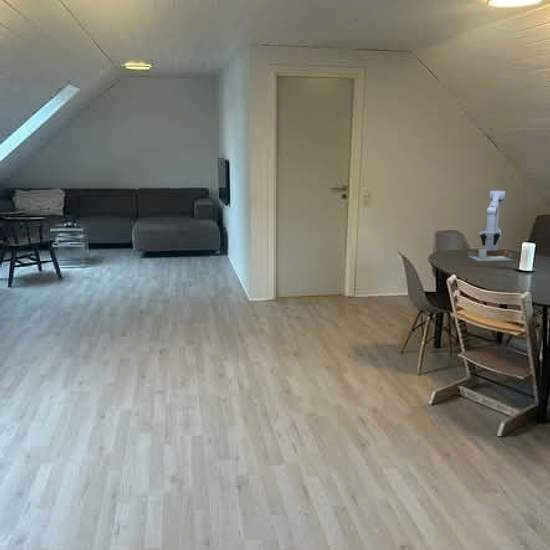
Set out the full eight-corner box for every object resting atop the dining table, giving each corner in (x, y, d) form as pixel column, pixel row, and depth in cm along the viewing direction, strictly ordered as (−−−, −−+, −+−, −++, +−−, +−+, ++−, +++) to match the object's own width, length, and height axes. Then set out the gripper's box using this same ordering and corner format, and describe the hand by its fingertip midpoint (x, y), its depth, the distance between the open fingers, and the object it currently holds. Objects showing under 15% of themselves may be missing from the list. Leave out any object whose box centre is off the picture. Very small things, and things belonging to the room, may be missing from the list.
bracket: (477, 257, 380) (478, 248, 378) (484, 257, 380) (485, 248, 379) (484, 260, 370) (485, 251, 369) (491, 260, 371) (492, 251, 369)
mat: (467, 256, 385) (467, 255, 385) (503, 255, 388) (503, 255, 388) (477, 261, 370) (477, 260, 370) (515, 260, 372) (515, 259, 372)
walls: (467, 256, 385) (467, 250, 384) (503, 255, 388) (503, 250, 387) (477, 261, 370) (478, 255, 369) (515, 260, 372) (516, 254, 372)
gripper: (483, 226, 367) (481, 246, 370) (504, 225, 369) (502, 246, 372) (478, 224, 374) (476, 244, 377) (499, 224, 376) (497, 244, 379)
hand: (489, 245), depth 375 cm, fingers open, 7 cm apart
